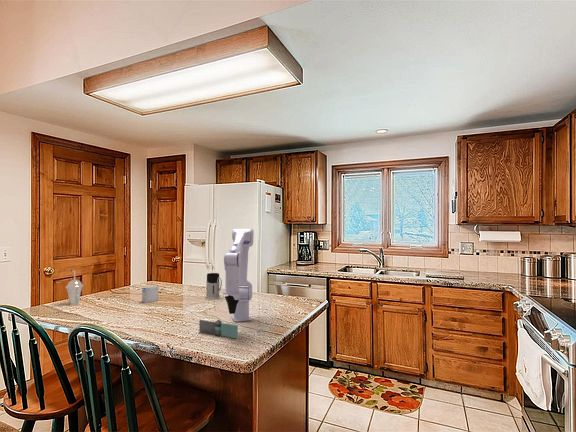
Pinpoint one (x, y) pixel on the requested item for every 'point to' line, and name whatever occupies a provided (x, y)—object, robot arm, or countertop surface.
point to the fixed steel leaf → (209, 327)
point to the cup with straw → (74, 291)
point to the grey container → (213, 286)
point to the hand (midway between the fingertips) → (232, 313)
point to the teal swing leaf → (228, 330)
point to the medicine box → (149, 294)
